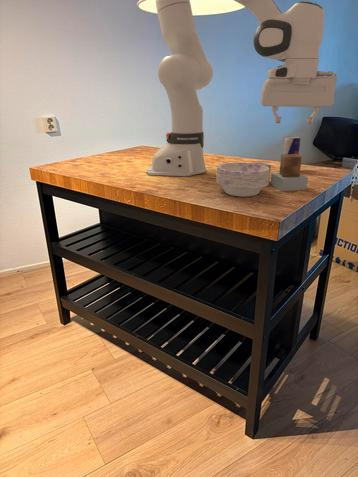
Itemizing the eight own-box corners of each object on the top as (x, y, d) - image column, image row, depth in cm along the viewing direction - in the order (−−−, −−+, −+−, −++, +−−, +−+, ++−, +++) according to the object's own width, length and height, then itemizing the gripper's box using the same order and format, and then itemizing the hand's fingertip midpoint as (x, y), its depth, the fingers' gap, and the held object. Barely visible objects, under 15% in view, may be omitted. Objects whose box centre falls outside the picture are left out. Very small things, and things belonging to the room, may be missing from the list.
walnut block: (282, 177, 108) (284, 157, 105) (279, 173, 112) (281, 154, 110) (299, 177, 107) (301, 157, 105) (295, 173, 112) (297, 154, 109)
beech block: (254, 184, 114) (256, 166, 112) (248, 180, 119) (249, 163, 116) (269, 183, 115) (270, 165, 113) (262, 179, 120) (264, 162, 117)
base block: (281, 192, 107) (283, 179, 105) (270, 185, 114) (271, 173, 113) (306, 190, 108) (307, 177, 107) (293, 183, 116) (294, 171, 114)
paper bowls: (266, 186, 112) (268, 161, 108) (269, 201, 98) (271, 172, 95) (217, 185, 114) (218, 160, 111) (214, 199, 100) (214, 171, 97)
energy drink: (297, 172, 129) (301, 138, 124) (282, 171, 130) (285, 138, 125) (296, 169, 134) (299, 136, 129) (281, 168, 135) (284, 136, 130)
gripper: (334, 71, 101) (325, 122, 106) (261, 71, 101) (257, 121, 107) (342, 71, 95) (333, 125, 101) (265, 70, 96) (260, 124, 101)
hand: (293, 123), depth 104 cm, fingers open, 8 cm apart
